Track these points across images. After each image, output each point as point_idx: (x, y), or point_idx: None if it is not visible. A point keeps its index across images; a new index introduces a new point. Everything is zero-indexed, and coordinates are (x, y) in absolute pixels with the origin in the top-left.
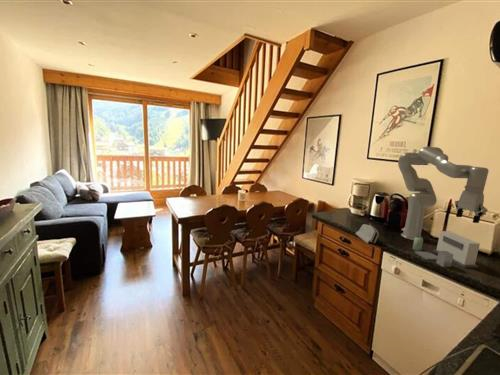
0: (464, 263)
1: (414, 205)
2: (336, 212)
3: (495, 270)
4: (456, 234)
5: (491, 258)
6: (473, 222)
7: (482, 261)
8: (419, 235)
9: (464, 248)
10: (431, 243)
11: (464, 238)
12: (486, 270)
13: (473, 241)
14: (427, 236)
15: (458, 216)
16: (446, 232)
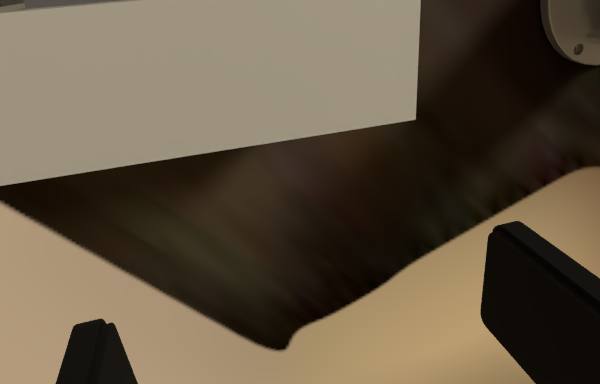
0: (18, 3)
1: None
2: None
3: (46, 228)
4: (309, 125)
5: (260, 328)
6: (87, 322)
7: (196, 242)
8: (590, 12)
9: (11, 9)
10: (485, 78)
11: (161, 120)
12: None
13: (59, 162)
14: (597, 146)
15: (493, 260)
16: (372, 31)
